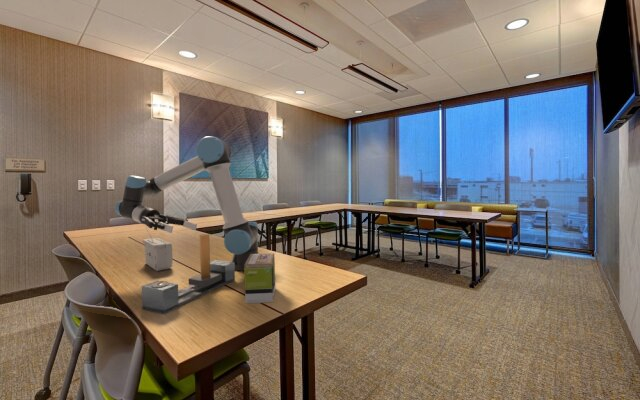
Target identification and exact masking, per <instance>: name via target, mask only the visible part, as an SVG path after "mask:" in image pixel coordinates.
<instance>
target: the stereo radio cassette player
mask: <svg viewBox="0 0 640 400" xmlns="http://www.w3.org/2000/svg"><path fill="white" fill-rule="evenodd" d="M145 228H146V230H147V233H148V235H149V238H146V239H145V238H144V239H142V243H143V244H144V256H145V258H144V259H145V260H144V261H145V264H146V265H147V266H148V267H150V268H152V269H153V270H154V271H156V272H159V271H164V270H170V269H171V268H172V267H173V245H172V243H171V242H168V241H166V240H164V239H162V238H159V237H152V234H151V233H150V232H149V229H148V227H145Z"/></svg>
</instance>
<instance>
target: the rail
mask: <svg viewBox="0 0 640 400" xmlns="http://www.w3.org/2000/svg"><path fill="white" fill-rule="evenodd" d="M210 272H213V273H220V274H222V280H220V281H217V282H215V283H213V284H211V285H208V286H206V287H200V286H194V285H189V286H187V287H184V288H182V289H179V284H178V283H172V282H169V281H168V280H156V281H152V282H149V283H147V284H144V285H142V286H141V302H142V307H141V308H142V310H145V311H148V312H149V311H150V312H153V313H158V314H162V315H165V314H167V313H169V312H171V311H174V310H175V309H178V308H179V307H180V308H181V307H182V306H185V305H186V304H188V303H190V302H192V301H194V300H196V299H199V298H200V297H203V296H205V295H208V294H209V293H212V292H213V291H215V290H217V289H220V288H221V287H223V286H225V285H227V284H229V283H232V282H234V281H235V280H236V275H235V274H236V273H235V272H236V270H235V262H232V261H228V260H227V261H226V260H219V259H215V260H212V261H210Z"/></svg>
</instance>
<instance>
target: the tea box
mask: <svg viewBox="0 0 640 400" xmlns="http://www.w3.org/2000/svg"><path fill="white" fill-rule="evenodd" d="M275 258H276V257H275V252H269V253H268V252H267V253H259V254H250V256H249V258H248V259H247V261H246V263H245V264H244V270H243V271H244V298H245V303H246V304H264V302H270V303H273V302H274V296H275V293H276V292H275V291H276V266H275V265H276V264H275V263H276V262H275Z"/></svg>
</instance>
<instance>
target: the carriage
mask: <svg viewBox="0 0 640 400" xmlns="http://www.w3.org/2000/svg"><path fill="white" fill-rule="evenodd" d="M210 244H211V243H210V234H209V233H203V234H200V235H199V253H200V254H199V255H200V274H197V275H195V276H192V277H188V285H189V286H191V285H194V286H200V287H206V286H208V285H211V284H213V283H215V282H217V281H220V280H222V274H220V273H213V272H210V262H211V249H210V247H211V245H210Z"/></svg>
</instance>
